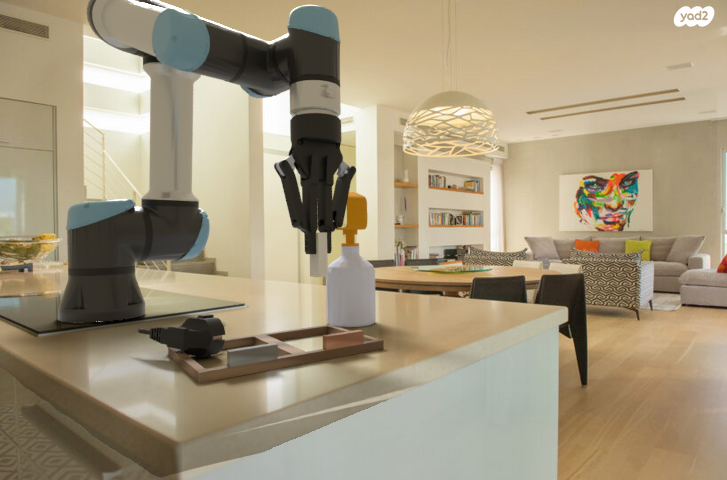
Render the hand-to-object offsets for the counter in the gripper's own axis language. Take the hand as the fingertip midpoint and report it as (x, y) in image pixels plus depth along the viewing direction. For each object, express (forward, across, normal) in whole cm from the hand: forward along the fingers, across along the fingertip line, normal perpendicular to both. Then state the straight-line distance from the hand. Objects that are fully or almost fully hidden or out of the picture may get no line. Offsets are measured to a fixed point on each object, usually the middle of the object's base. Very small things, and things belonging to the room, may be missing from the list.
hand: (318, 276), depth 69 cm
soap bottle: (+10, +13, +12) cm, 21 cm away
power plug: (+7, -20, +12) cm, 25 cm away
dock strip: (+10, -7, 0) cm, 12 cm away
